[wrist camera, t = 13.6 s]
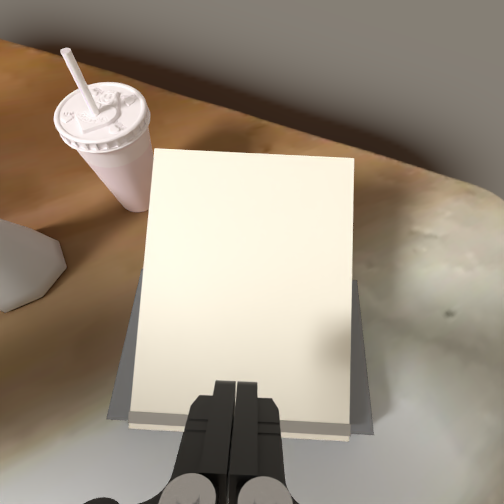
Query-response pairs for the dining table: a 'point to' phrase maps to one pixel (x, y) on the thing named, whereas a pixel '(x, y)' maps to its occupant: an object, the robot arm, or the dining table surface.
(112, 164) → the smoothie
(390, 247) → the dining table surface
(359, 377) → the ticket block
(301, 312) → the panel
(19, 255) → the flask
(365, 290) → the dining table surface
